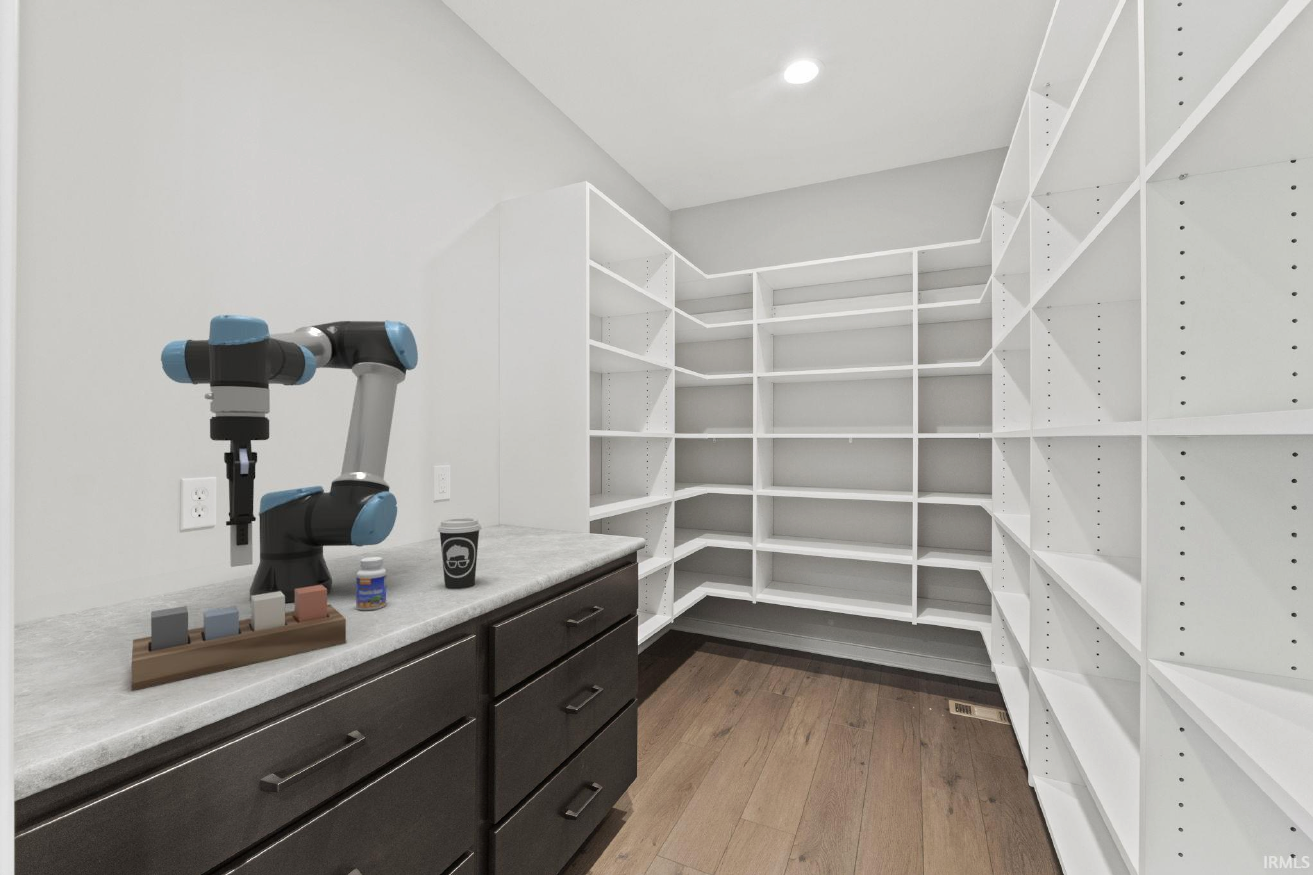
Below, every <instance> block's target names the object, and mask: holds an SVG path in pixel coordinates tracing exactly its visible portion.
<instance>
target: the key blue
mask: <svg viewBox="0 0 1313 875" xmlns="http://www.w3.org/2000/svg"><path fill="white" fill-rule="evenodd" d="M239 614H240V612H239V610H238V608H237V606H236V605H234V606H233V605H231V606H227V607H221V608H214V609H208V610H204V611H203V627H204V641H207V640H212V639H217V638H223V637H228V636H233V635H238V634H239V621H240V615H239Z"/></svg>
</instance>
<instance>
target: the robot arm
mask: <svg viewBox="0 0 1313 875" xmlns="http://www.w3.org/2000/svg"><path fill="white" fill-rule="evenodd" d="M209 324H210V325H209V333H208V334H209V335H208V336H209V337H208V339H202V340H200V339H199V340H194V339H185V340H174V341H170V342H169V343H167V344H166V345H165V346H164V347H163V349H162V352H161V355H160V362H161V365H162V366H161V367H162V370H163V372H164V374H165V375H166V376H167V377H168V378H169V379H170V380H172V381H174V382H175V383H179V384H191V385H198V384H199V385H200V384H201V385H202V384H205V385H207V384H209V387H210V388H209V391H210V392H211V393H210V392H207V393H205V395H204V398H205V400H211V401H210V402H209V405H210V407H209V408H210V412H211V413H213V414H215V416H211V418H209V437H210V439H211V441H214V442H215V441H217V442H218V441H222V442H223V441H230V444H229V446H230V447H229V451H228V452H227V451H226V452H223V454H224V455H223V458H224V459H223V461H224V463H225V465H226V466H225V469H226V473H225V475H226V479H227V480H228V496H229V497H228V500H229V502H228V504H229V511H228V517H229V520H227V521H225V525H226V527H227V526H229V531H230V532H229V540H230V546H229V550H230V551H229V552H230V557H229V558H230V563H229V564H230V567H231V568H232V567H233V568H235V567H242V566H249V565H253V564H254V563H253V562H254V561H253V522H256V520H257V518H256V516H255V515H254V498H255V497H254V496H255V495H254V494H255V492H254V491H255V490H254V489H255V484H254V483H255V479H256V464H257V463H258V452H256V451H252V441H267V440H268V439H269V438H270V419H269V418H268V417H266V415H267V414H269V413H270V407H271V406H270V405H271V404H270V402H271V401H270V395H271V394H270V389H269V388H270V384H274V385H276V384H278V385H283V386H292V387H293V386H302V385H305V384H306V383H309V381H311V380H312V379H313V378H314V376H315V374H316V371H317V369H326V368H327V369H340V370H351V372H352V373H353V375H354V376H355V377H356V378H357V379H356V385H355V390H354V396H353V402H352V403H353V404H352V410H351V415H350V421H349V426H348V432H347V437H346V438H347V439H346V444H345V449H344V454H343V462H342V466H341V472H340V473H341V474H340V475H339V476H338V477H337V478H335V479H333V480H332V482H331V486H330V490H329V492H325V489H324V488H323V486H321V485H316V486H308V487H307V486H306V487H301V488H294V489H286V490H278V491H272V492H268V493H265V494H263V495H262V496H261V497H260V498H261V499H260V502H259V512H258V516H259V563H258V566H257V569H256V571H255V574H254V577H253V581H252V582H251V585H250V588H249V601H251V596H253V595H259V594H266V593H272V592H278V591H281V592H282V593H283V595H284V596H285V603H291V602H295V589H297V588H304V587H310V586H316V585H323V586H324V587H325V588H326V589H327V594H328V593H329V592H331V591H332V590H333V579H332V578H333V577H332V575H331V572H330V570H329V567H328V565H327V564H328V563H326V559H325V557H324V547H342V546H347V547H348V546H350V547H352V546H353V547H359V548H360V547H363V546H377V545H380V544H381V543H382V542H383V541H385V540H386V539H387V537H389V536H390V534H391V532H392V531H393V528H394V527H395V523H396V520H397V516H398V506H397V504H398V502H397V497H396V496H395V495H394V494H393V493H391V492H390V484H388V483H387V482H386V481H385V480H384V477H385V470H386V464H387V456H388V451H389V450H388V449H389V445H390V444H389V443H390V439H391V438H390V436H391V430H392V424H393V415H394V411H395V410H394V409H395V402H396V397H397V389H398V385H399V384H400V383H403V382H404V381H405V379H406V374H407V371H412V370H414V369H416V367H417V365H418V362H419V361H418V360H419V354H418V347H417V341H416V339H415V338H416V337H415V336H414V334H413V331H412V330H411V328H410V327H409V325H408V324H406V323H404V322H402V321H390V320H388V319H387V320H385V321H384V320H383V321H382V320H381V321H379V320H377V321H375V320H374V321H373V320H372V321H371V320H369V321H368V320H366V321H364V320H361V321H360V320H357V321H356V320H352V321H351V320H340V321H334V322H328V323H321V324H317V325H310V326H302V327H299V328H297V329H295V330H294V331H292V332H281V333H271V334H270V330H269V325H268V323H267V322H266V321H265V320H263V319H261V318H257V317H255V316H253V317H252V316H249V315H248V316H247V315H246V316H245V315H240V314H238V315H237V314H219V315H216V316H213V318H211V320H210V323H209Z"/></svg>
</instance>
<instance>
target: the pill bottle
mask: <svg viewBox="0 0 1313 875" xmlns="http://www.w3.org/2000/svg"><path fill="white" fill-rule="evenodd" d="M383 562H384V559H383V557H378V556H373V557H364V558H362V559H360V564H359V565H360V566H359V567H361V569H360V570H358V571H357V572H356V581H355V582H356V586H355V587H356V590H355V592H356V593H355V596H356V597H355V601H356V602H355V607H356V610H358V611H374V610H378V609H382V608H383V607H385V606H386V605H387V570H386V568H384V567H383V564H384V563H383Z"/></svg>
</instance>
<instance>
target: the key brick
mask: <svg viewBox="0 0 1313 875" xmlns="http://www.w3.org/2000/svg"><path fill="white" fill-rule="evenodd" d="M327 605H328V593H327V589H326V588H325V587H324V586H323V585H316V586H310V587H304V588H297V589H295V601H294V611H295V619H296V621H297V622H298V623H300V622H305V621H311V620H316V619H321V618H326V617H327Z"/></svg>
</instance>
